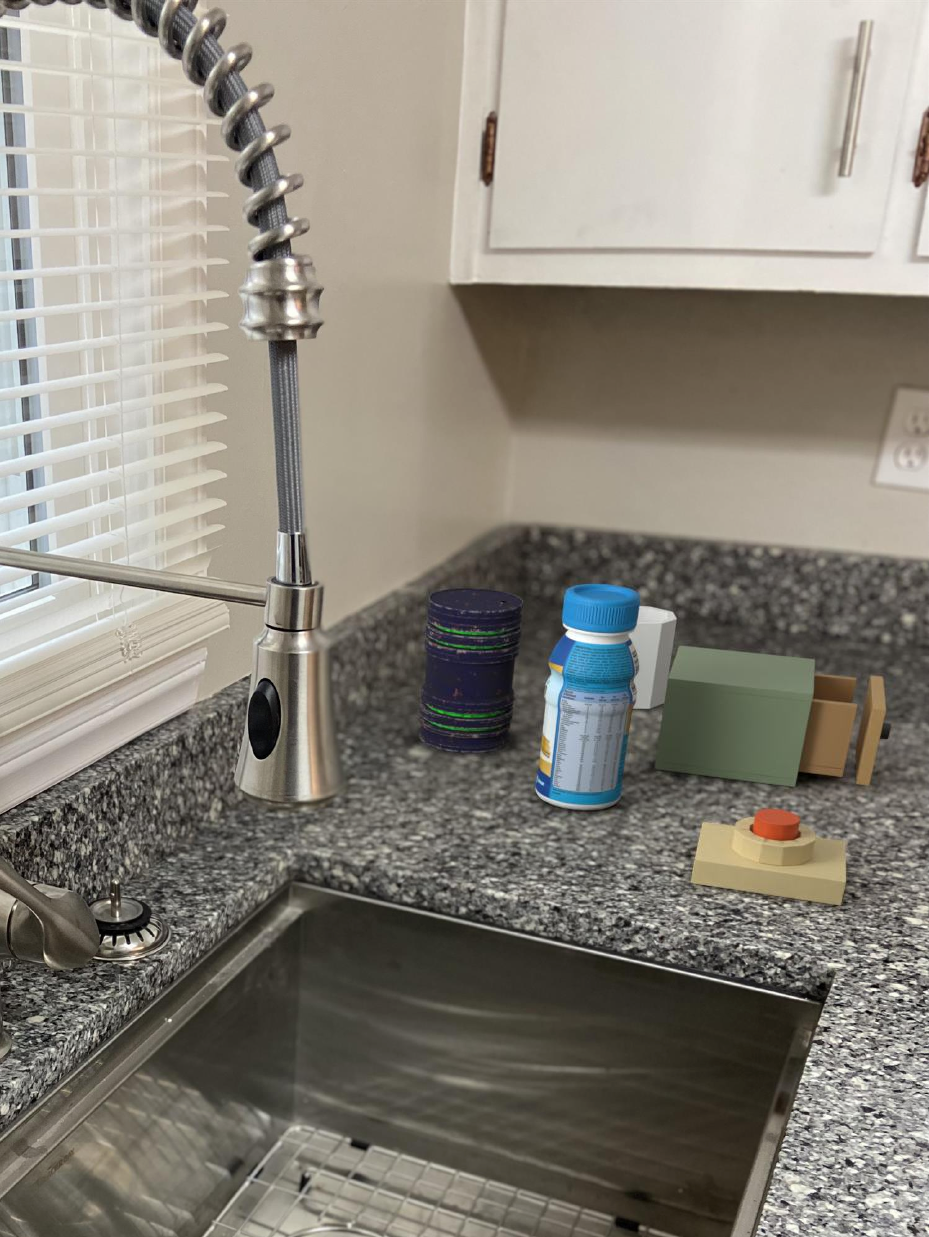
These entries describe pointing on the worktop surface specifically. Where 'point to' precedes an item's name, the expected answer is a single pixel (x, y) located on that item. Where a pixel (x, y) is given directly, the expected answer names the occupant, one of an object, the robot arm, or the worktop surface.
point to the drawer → (843, 727)
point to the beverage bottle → (589, 699)
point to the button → (776, 825)
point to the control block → (771, 863)
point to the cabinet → (736, 715)
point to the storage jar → (469, 669)
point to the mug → (653, 654)
